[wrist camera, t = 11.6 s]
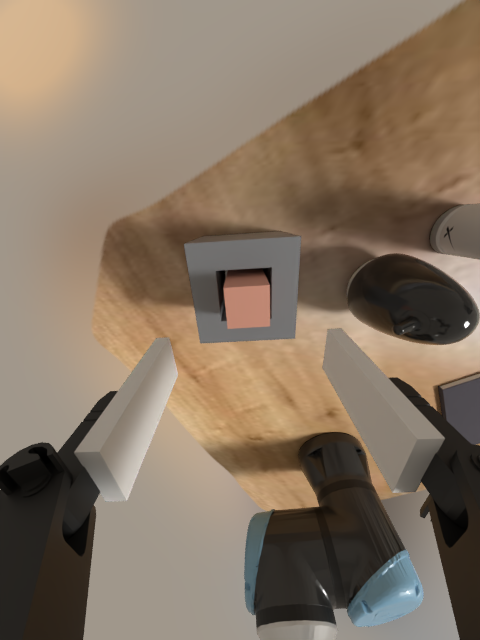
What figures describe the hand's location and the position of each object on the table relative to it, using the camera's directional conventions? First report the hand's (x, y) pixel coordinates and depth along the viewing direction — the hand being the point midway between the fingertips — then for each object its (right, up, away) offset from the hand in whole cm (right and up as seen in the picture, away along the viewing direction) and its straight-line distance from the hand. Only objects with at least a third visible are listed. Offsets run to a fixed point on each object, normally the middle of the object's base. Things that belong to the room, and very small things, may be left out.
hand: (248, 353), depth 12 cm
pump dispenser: (+20, +8, +20) cm, 29 cm away
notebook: (+50, -17, +33) cm, 62 cm away
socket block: (0, +9, +19) cm, 21 cm away
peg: (0, +7, +15) cm, 17 cm away
